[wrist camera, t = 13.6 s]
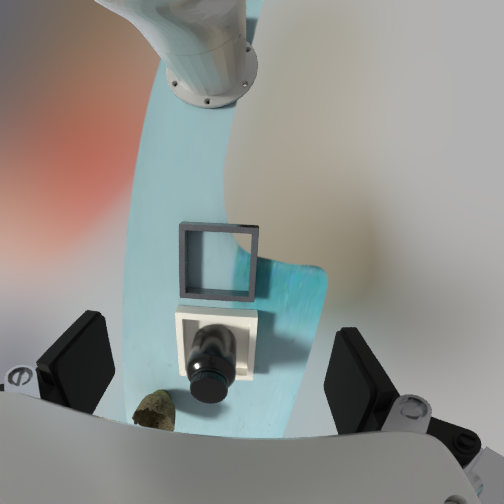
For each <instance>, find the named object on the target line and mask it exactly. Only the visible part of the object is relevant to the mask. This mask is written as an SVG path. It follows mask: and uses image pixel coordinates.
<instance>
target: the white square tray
mask: <svg viewBox="0 0 504 504" xmlns="http://www.w3.org/2000/svg"><path fill="white" fill-rule="evenodd" d="M175 319H176V334H177V348H178V360H179V371H180V375H182V376H187V373H186V367H187V363H188V359H189V355H190V351H191V347H192V343H193V339H194V336H195V334H196V332H197V331H198V330H199V329H200V328H202V327H204V326H206V325H211V324H217V325H221V326H224V327H226V328H228V329H229V330H230V331H231V332H232V333H233V334H234V336H235V338H236V344H237V350H236V378H235V380H251V381H253V371H254V360H255V348H256V335H257V323H258V312H257V310H248V309H229V308H213V307H198V306H185V305H178V307H177V310H176V312H175Z"/></svg>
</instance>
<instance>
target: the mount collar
mask: <svg viewBox="0 0 504 504" xmlns="http://www.w3.org/2000/svg"><path fill="white" fill-rule="evenodd" d="M188 230H189V231H210V232H230V233H249V234H252V243H251V259H250V275H249V291H234V290H217V289H201V288H188ZM258 236H259V226H258V225H240V224H223V223H202V222H181V223H180V224H179V282H180V298H192V299H206V300H222V301H239V302H254V294H255V280H256V266H257V251H258Z"/></svg>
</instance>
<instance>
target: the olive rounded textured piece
mask: <svg viewBox="0 0 504 504" xmlns="http://www.w3.org/2000/svg"><path fill="white" fill-rule="evenodd" d="M132 419H133V420H134V424H139V425H141V426H143V427H149V428H154V429H160V430H166V431H173V430H174V425H175V406H174V404H173V402H172V401H171V397H170V395H169V394H168V393H167V392H165V391H163V390H157V391H155V392H154V393H153V394H149V395H147V396H146V397H145V398H144V399H143V400H142V401H141V403H140V404H139V406H138V408H137V409H136V411H135V412H134V415H133V417H132Z"/></svg>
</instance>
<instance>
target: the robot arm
mask: <svg viewBox="0 0 504 504" xmlns="http://www.w3.org/2000/svg"><path fill="white" fill-rule="evenodd" d="M95 1H96V2H98V3H99V4H101V5H102V6H104V7H106V8H108V9H109V10H111V11H113V12H115V13H117V14H119V15H121V16H123V17H124V18H126V19H128V20H129V21H130V22H131V23H133V24H134V25H135V26H136V27H137V28H138V29H139V31H140V32H141V33H142V34H143V35H144V36H145V38H146V39H147V40H148V41H149V43H150V44H151V45H152V46H153V48H154V49H155V50H156V52H157V53H158V54H159V56H160V57H161V58H162V59H163V61H164V62H165V63H166V65H167V67H166V76H167V81H168V84H169V86H170V88H171V90H172V91H173V92H174V93H175V95H176V96H177V97H178V98H179V99H181V100H182V101H184V102H185V103H187V104H190V105H192V106H195V107H200V108H217V107H222V106H225V105H228V104H230V103H232V102H234V101H236V100H238V99H239V98H240V97H242V96H243V95H244V94H245V93H246V92H247V91H248V90H249V89H250V87H251V86H252V84H253V82H254V80H255V78H256V74H257V67H258V62H257V56H256V54H255V51H254V49H253V48H252V46H251V45H250V43H249V42H248V41H246V0H95ZM246 51H249V52H246ZM175 84H178V85H177V86H175ZM244 84H246V85H247V86H246V87H244V86H243V85H244ZM208 101H210V103H209V104H207V102H208ZM36 363H37V366H38V367H37V368H36V369H34V368H33V367H32V366H29V365H18V366H14V367H13V368H11V369H10V370H8V371H7V373H6V374H5V377H4V384H0V504H504V457H503V456H501V455H500V454H498V453H496V452H495V451H493V450H491V449H490V448H488V447H486V448H485V449H483V448H481V441H480V438H479V437H478V436H477V434H476V433H474V432H473V431H471V430H468V429H465V428H462V427H459V426H456V425H454V424H451V423H448V422H445V421H442V420H439V419H436V418H434V417H431V413H432V409H431V406H430V404H429V403H428V402H427V401H426V400H425V399H423V398H421V397H419V396H417V395H402V396H400V395H399V393H398V391H397V390H396V388H395V386H394V385H393V383H392V382H391V380H390V378H389V377H388V375H387V374H386V372H385V371H384V369H383V367H382V366H381V364H380V363H379V361H378V360H377V359H376V357H375V355H374V354H373V353H372V351H371V349H370V348H369V346H368V345H367V343H366V342H365V340H364V338H363V337H362V335H361V334H360V332H359V331H358V329H357V328H356V327H343V328H341V330H340V331H337V332H336V336H335V340H334V345H333V349H332V353H331V358H330V361H329V366H328V369H327V373H326V377H325V381H324V391H325V394H326V397H327V400H328V404H329V407H330V409H331V413H332V416H333V419H334V422H335V425H336V428H337V431H338V434H339V435H331V436H318V437H300V438H238V437H220V436H208V435H198V434H189V433H181V432H173V431H166V430H160V429H154V428H149V427H143V426H138V425H133V424H128V423H124V422H119V421H115V420H111V419H106V418H103V417H99V416H95V415H92V414H93V412H94V410H95V409H96V407H97V405H98V403H99V401H100V399H101V398H102V396H103V394H104V392H105V391H106V389H107V387H108V385H109V384H110V382H111V380H112V378H113V376H114V374H115V366H114V361H113V357H112V352H111V347H110V343H109V338H108V333H107V327H106V321H105V317H104V316H102V315H101V313H100V312H97V311H90V310H87V311H85V313H83V314H82V315H81V316H80V317H79V318H78V319H77V320H76V321H75V322H74V324H72V325H71V326H70V327H69V328H68V329H67V330H66V331H65V332H64V333H63V334H62V335H61V336H60V337H59V339H58V340H57V341H56V342H55V343H54V344H53V345H52V346H51V347H50V348H49V349H48V350H47V351H46V352H45V353H44V354H43V355H42V356H41V357H40V359H38V361H37V362H36Z"/></svg>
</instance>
